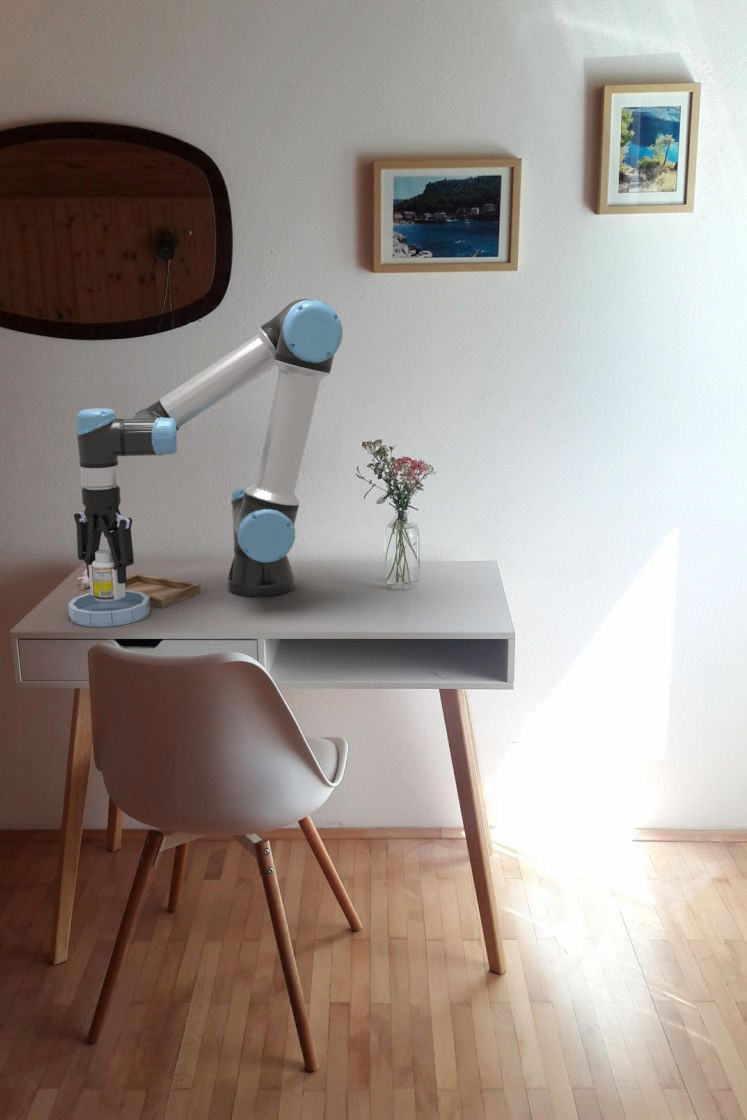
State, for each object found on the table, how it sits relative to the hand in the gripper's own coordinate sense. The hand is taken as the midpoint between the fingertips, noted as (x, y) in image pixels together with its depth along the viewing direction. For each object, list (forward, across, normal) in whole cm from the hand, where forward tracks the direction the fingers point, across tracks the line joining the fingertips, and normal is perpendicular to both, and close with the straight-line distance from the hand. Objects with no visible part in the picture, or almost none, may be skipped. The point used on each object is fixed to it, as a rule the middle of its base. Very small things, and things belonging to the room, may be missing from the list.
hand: (108, 595), depth 222 cm
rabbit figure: (+5, +20, -18) cm, 27 cm away
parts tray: (+4, +2, -15) cm, 16 cm away
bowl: (+4, 0, 0) cm, 4 cm away
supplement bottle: (+1, 0, 0) cm, 1 cm away
